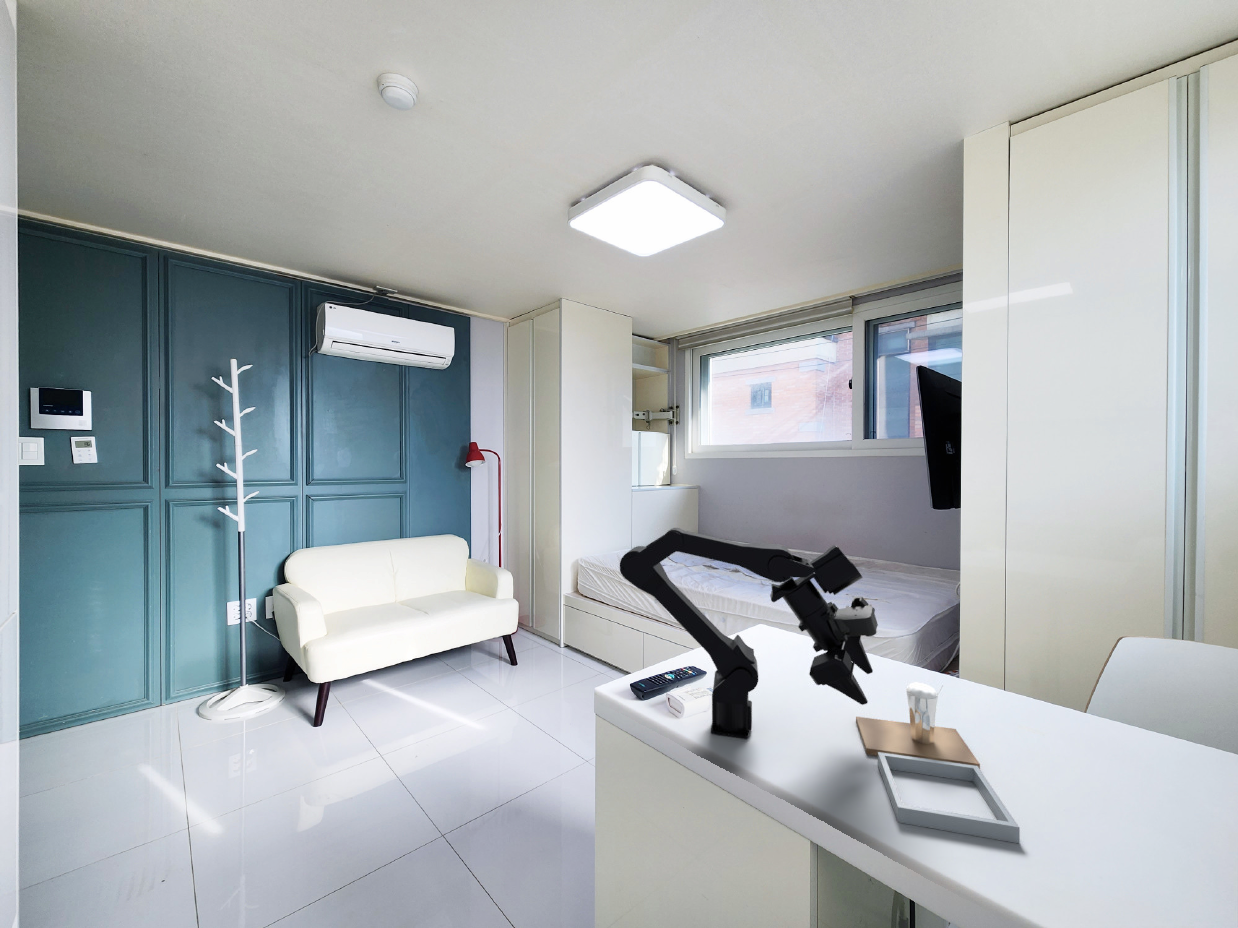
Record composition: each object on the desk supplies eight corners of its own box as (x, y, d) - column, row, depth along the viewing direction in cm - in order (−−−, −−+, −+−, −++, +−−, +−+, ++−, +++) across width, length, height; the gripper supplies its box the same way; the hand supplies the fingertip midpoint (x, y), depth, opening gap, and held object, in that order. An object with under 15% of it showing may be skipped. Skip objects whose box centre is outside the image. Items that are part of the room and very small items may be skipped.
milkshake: (939, 751, 82) (938, 689, 82) (902, 739, 86) (902, 679, 86) (947, 741, 86) (946, 681, 86) (911, 729, 89) (911, 672, 89)
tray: (898, 821, 68) (898, 806, 68) (877, 764, 81) (877, 751, 81) (1019, 843, 64) (1019, 827, 64) (977, 779, 77) (977, 765, 77)
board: (866, 754, 84) (866, 747, 84) (855, 721, 94) (855, 716, 94) (979, 770, 79) (979, 763, 79) (955, 734, 90) (955, 728, 90)
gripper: (844, 614, 77) (911, 705, 75) (858, 568, 93) (914, 643, 91) (784, 641, 83) (844, 727, 81) (806, 594, 99) (857, 664, 96)
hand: (867, 687), depth 87 cm, fingers open, 9 cm apart
